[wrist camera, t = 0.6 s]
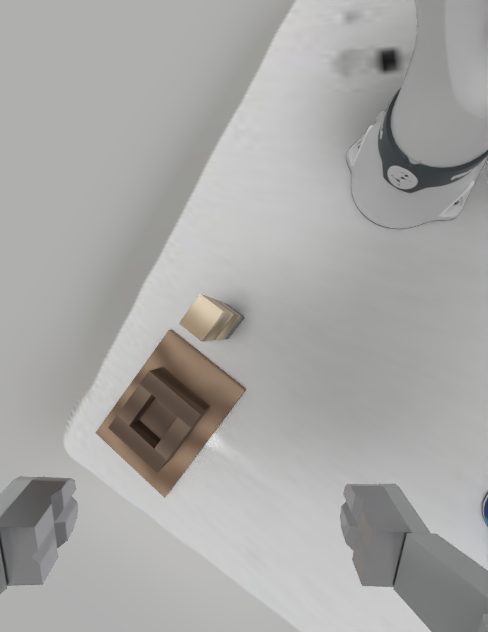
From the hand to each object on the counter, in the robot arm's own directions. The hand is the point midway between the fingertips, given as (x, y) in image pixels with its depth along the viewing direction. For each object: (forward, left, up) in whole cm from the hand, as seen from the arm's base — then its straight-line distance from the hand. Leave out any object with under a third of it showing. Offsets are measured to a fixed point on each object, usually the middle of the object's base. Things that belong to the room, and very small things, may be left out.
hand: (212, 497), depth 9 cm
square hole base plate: (+18, -10, -39) cm, 44 cm away
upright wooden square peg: (0, -11, -39) cm, 40 cm away
